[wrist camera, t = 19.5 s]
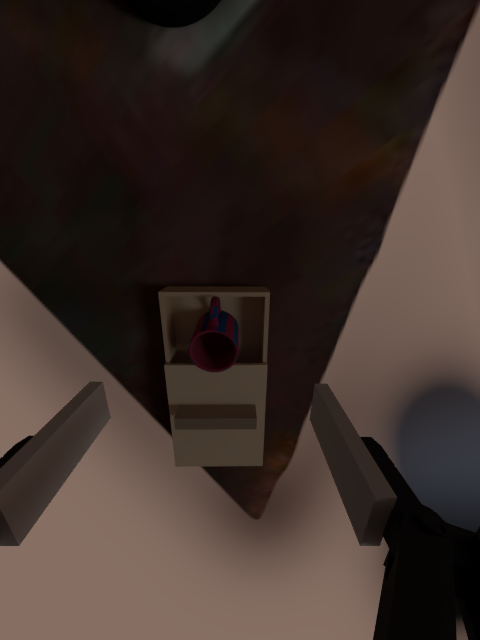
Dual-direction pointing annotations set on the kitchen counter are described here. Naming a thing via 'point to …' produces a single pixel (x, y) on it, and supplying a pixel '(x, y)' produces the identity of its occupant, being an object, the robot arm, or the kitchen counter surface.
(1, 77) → the kitchen counter surface
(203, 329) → the mug
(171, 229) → the kitchen counter surface
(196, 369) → the lid
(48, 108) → the kitchen counter surface
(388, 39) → the kitchen counter surface
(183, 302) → the beige open box
